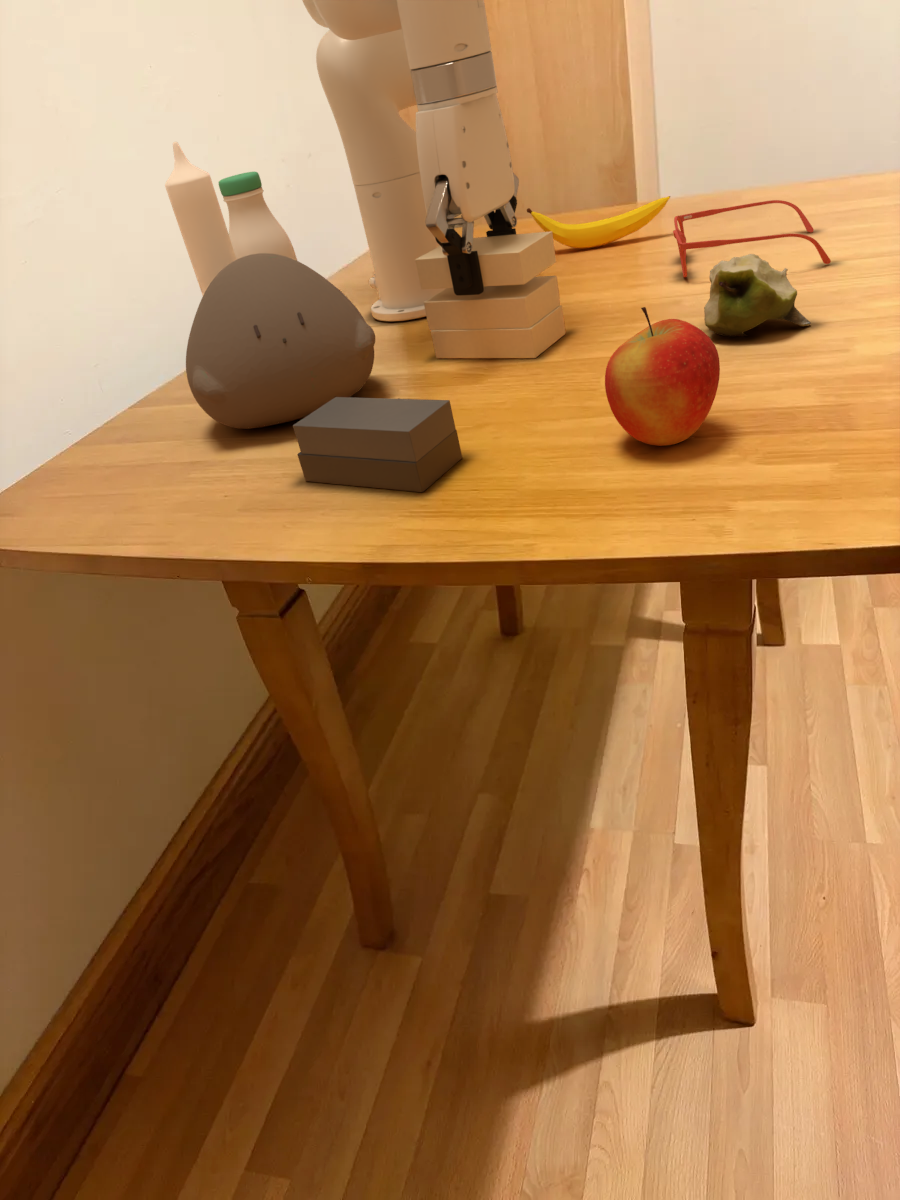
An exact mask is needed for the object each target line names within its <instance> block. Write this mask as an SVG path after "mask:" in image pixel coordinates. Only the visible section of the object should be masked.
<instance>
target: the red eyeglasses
mask: <svg viewBox="0 0 900 1200" xmlns="http://www.w3.org/2000/svg"><path fill="white" fill-rule="evenodd" d="M769 204H783V205H786V206H788V207H791V208H792V209H793V210H794V211H796V213H797V215H798V216H799V218H800V220H801V222H802V224H803V226H804V228H805V230H806V232H808V233H813V232H814V227H813V225H812V224H811V223H810V221H809V220H808V218H807V217H806V215H805V214H804V213H803V211H802V210H801V209H800V208H799V206H797V205H796V204H794V203H792V202H790V201H787V200H780V199H772V200H771V199H770V200H764V201H758V202H752V203H745V204H740V205H735V206H728V207H723V208H713V209H706V210H701V211H695V212H690V213H685V214H681V215H676V216H674V219H673V223H674V230H673V231H672V234H673V237H674V238H675V239H676V243H677V247H678V248H677V249H678V252H679V260H680V265H681V271H682V275H683V278H687V277H688V269H687V268H688V267H687V262H686V261H687V260H686V259H687V250H696V249H704V248H706V249H707V248H714V247H721V246H725V245H732V244H733V245H734V244H741V243H751V242H758V241H766V240H767V241H768V240H774V239H782V238H801V239H804V240H806V241H809V242H810V243H811V244H812V245H813V246H814V247H815V249H816V250H817V252H818V255H819V256H820V259H821V261H822V263H823V264H826V265H829V264H831V262H832V260H831V258H830V257H829V255H828V253H826V250H824V248H823V246H822V245H821V244H820V243H819V242H818V241H817V240H816V239H815V238H814V237H811V236H809V235H807V234H802V233H780V234H772V235H762V236H761V235H760V236H752V237H744V238H743V237H742V238H733V239H731V238H729V239H713V240H711V239H710V240H702V241H691V242H687V237H686V235H685V229H684V222H685V221H689V220H695V219H700V218H704V217H710V216H714V215H717V214H718V215H719V214H721V213H725V212H730V211H737V210H743V209H747V208H752V207H757V206H763V205H769Z"/></svg>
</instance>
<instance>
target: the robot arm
mask: <svg viewBox="0 0 900 1200" xmlns="http://www.w3.org/2000/svg"><path fill="white" fill-rule="evenodd" d="M301 1H302V3H303V5H304V7H305V9H306V11H307V13H308V14H309V16H310V18H311V19H312V20H313V21H314V22H315V23H316V24H317V25H319V26H321V27H323V28H327V29H329V30H328V31H326V32H325V34H323V36H322V37H321V39H320V40H319V42H318V45H317V47H316V55H315V63H316V69H317V73H318V77H319V81H320V84H321V86H322V89H323V92H324V94H325V97H326V100H327V102H328V104H329V107H330V111H331V114H332V115H333V118H334V121H335V123H336V126H337V129H338V132H339V135H340V138H341V142H342V145H343V149H344V153H345V157H346V160H347V163H348V167H349V172H350V176H351V180H352V185H353V187H354V192H355V196H356V200H357V205H358V208H359V212H360V218H361V221H362V225H363V230H364V233H365V238H366V243H367V246H368V250H369V254H370V258H371V263H372V267H373V270H374V273H373V276H372V277H370V278H369V280H368V285H369V287H370V288H372V289H376V290H377V294H378V298H379V299H378V300H376V301H375V302H373V304H372V305H371V307H370V312H371V315H372V317H373V319H375V320H377V321H382V322H403V321H409V320H415V319H421V318H425V317H427V316H426V312H425V307H424V302H425V301H426V300H428V299H430V298H431V297H433V296H434V295H436V294H438V293H439V292H441V291H443V290H444V289H446V288H439V289H421V285H420V280H419V275H418V271H417V266H416V261H415V259H417V258H419V257H421V256H422V255H424V254H426V253H428V252H430V251H432V250H433V249H435V248H437V247H439V246H441V247H442V252H443V254H444V255H446V256H447V258H448V264H449V269H450V274H451V279H452V284H453V289H454V293H455V294H456V295H479V294H481V293H482V292H483V291H484V287H483V281H482V275H481V270H480V264H479V258H478V253H477V251H472V247H473V238H474V232H475V231H474V230H475V221H477V220H479V219H481V218H482V217H484V219H485V222H486V224H487V226H488V228H489V229H490V230H486V231H485V234H486V237H490V236H502V235H514V234H517V229H516V227H517V225H518V218H517V216H516V211H517V206H518V199H517V196H518V191H519V186H520V179H519V177H518V176H517V175H516V173H514V168H513V163H512V155H511V151H510V145H509V140H508V136H507V131H506V126H505V121H504V117H503V113H502V110H501V106H500V102H499V98H498V96H497V94H498V92H499V91H498V86H497V85H498V84H497V78H496V70H495V64H494V57H493V51H492V44H491V38H490V31H489V24H488V18H487V17H488V16H487V10H486V3H485V0H301ZM415 106H416V107H417V111H416V112H415V129H413V128H412V126H410V125H409V124H408V123H407V122H406V121H405V119H403V117H402V116H401V115H400V114H399V112H400V111H402V110H406V109H408V108H411V107H415ZM459 216H460V217H459ZM459 228H461V235H460V234H459V233H458V231H456V230H455V229H459Z"/></svg>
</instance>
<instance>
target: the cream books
mask: <svg viewBox="0 0 900 1200" xmlns="http://www.w3.org/2000/svg"><path fill="white" fill-rule="evenodd" d="M483 287H484V291H483V292H482V293H481V294H479V295H456V294H455V293H454V289H453V288H446V289H444V290H443V291H441V292H439V293H438V294H436V295H434V296H433V297H431V298H430V299H428V300H426V301H425V302H424V307H425V312H426V316H425V317H426V321H427V326H428V330H429V331H430V335H431V339H432V344H433V349H434V353H435V358H436V359H536V358H537V357H539V356H540V355H541V354H543V353H544V352H545V351H547V350H548V348H550V347H552V345H554V344H555V343H556V342H558V341H559V340H560V339H561V338H562V337H564V336H565V335H566V326H565V318H564V309H563V305H561V299H560V298H561V297H560V290H559V283H558V276H557V275H543V276H542V275H541V276H539V275H537V276H535V277H534V278H533V279H531V280H530V281H528V282H527V283H525V284H523V285H502V286H483Z"/></svg>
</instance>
